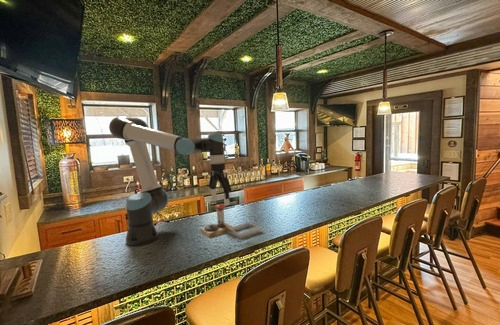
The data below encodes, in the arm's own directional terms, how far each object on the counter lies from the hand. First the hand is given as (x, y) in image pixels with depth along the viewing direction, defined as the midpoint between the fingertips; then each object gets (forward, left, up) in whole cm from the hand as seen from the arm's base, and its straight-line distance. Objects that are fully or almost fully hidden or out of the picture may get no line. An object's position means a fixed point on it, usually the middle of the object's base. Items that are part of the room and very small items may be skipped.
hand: (220, 202), depth 133 cm
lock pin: (0, 0, -15) cm, 15 cm away
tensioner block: (-3, 0, -16) cm, 16 cm away
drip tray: (+7, -11, -16) cm, 20 cm away
